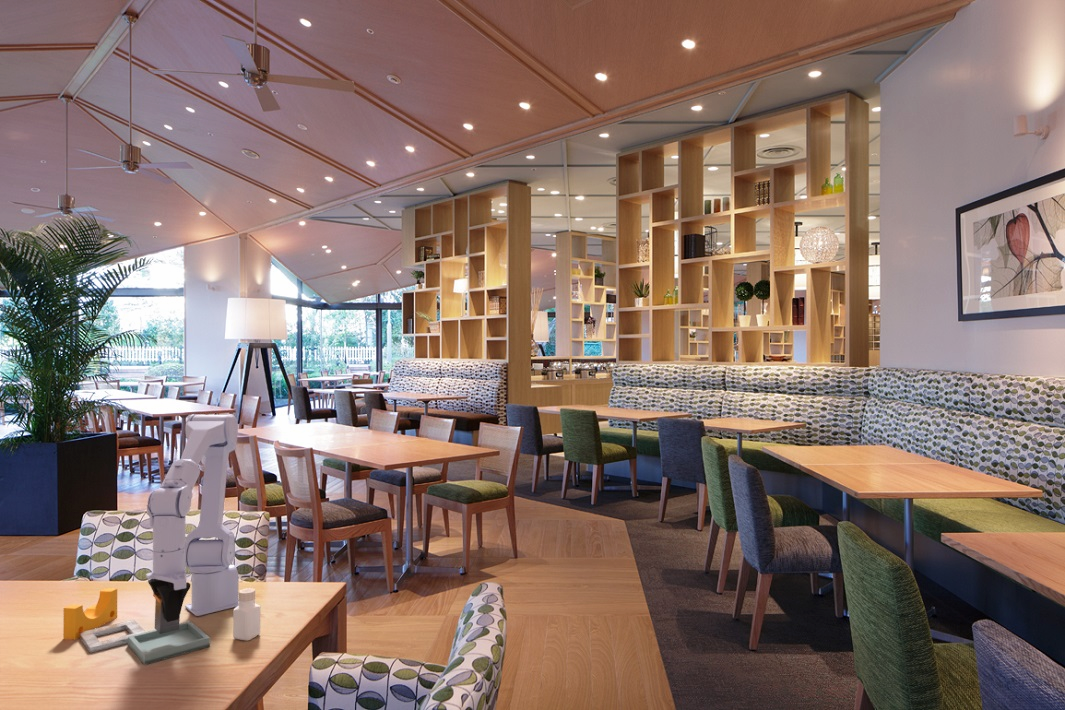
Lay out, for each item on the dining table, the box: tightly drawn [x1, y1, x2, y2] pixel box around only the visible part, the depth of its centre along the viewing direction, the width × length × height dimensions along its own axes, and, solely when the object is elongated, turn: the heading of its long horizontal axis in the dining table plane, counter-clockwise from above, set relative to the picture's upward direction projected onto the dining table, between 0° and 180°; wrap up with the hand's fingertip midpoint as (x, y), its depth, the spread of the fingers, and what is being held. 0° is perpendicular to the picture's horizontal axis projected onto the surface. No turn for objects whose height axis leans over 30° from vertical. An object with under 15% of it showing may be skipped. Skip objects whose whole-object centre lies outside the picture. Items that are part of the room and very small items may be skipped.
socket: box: [78, 619, 147, 654], centre depth 140 cm, size 10×10×1 cm
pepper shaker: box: [232, 587, 261, 641], centre depth 141 cm, size 4×4×10 cm
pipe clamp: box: [62, 587, 118, 640], centre depth 146 cm, size 12×4×6 cm, turn 174°
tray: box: [127, 620, 211, 665], centre depth 136 cm, size 12×12×2 cm
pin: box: [152, 592, 181, 634], centre depth 136 cm, size 4×4×7 cm
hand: (168, 617), depth 136 cm, fingers closed on pin, 4 cm apart
